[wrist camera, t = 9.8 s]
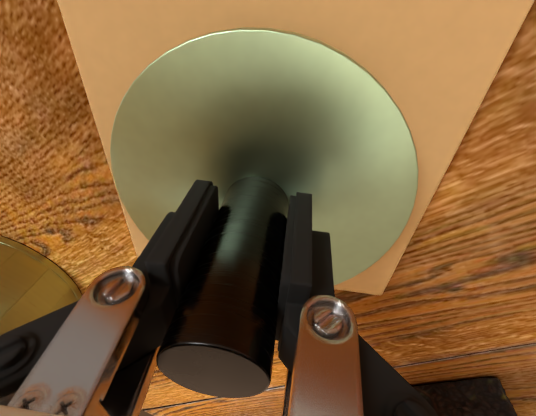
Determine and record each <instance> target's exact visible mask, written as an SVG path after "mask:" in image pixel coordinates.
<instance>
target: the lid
mask: <svg viewBox="0 0 536 416" xmlns="http://www.w3.org/2000/svg"><path fill="white" fill-rule="evenodd" d="M110 156H111V166H112V172H113V176H114V181H115V185H116V188H117V190H118V193H119V195H120V198H121V201H122V203H123V204H124V206H125V208H126V210H127V212H128V214H129V216H130V217H131V219H132V220H133V221H134V223H135V224H136V226H137V227H138V229H139V230H140V231H141V232H142V233H143V235H144V236H145V237H146V238H147V239H148V240H150V239H151V237H152V236H153V234H154V233H155V231H156V230H157V228H158V227H159V225H160V224H161V222H162V221H163V219H164V218H165V216H166V215H167V214H168V213H169V212H176V210H177V209H178V207H179V206H180V204H181V203H182V201H183V199H184V198H185V196H186V195H187V193H188V191H189V190H190V188H191V187H192V185H193V183H194V182H195V181H196V180H205V181H212V182H213V186H217V187H218V199H219V211H218V214H217V216H216V218H215V221H214V223H213V225H212V228H211V230H210V232H209V235H208V237H207V239H206V241H205V244H204V246H203V248H202V251H201V253H200V255H199V258H198V260H197V262H196V265H195V267H194V269H193V272H192V274H191V276H190V279H189V281H188V283H187V286H186V288H185V290H184V293H183V295H182V297H181V299H180V302H179V304H178V306H177V309H176V311H175V313H174V316H173V318H172V320H171V323H170V325H169V327H168V330H167V332H166V334H165V337H164V339H163V341H162V344H161V346H160V348H159V351H158V353H157V356H156V363H157V366H158V368H159V369H160V370H161V372H162V373H163V374H164V375H165V376H167V377H168V378H169V379H171V380H172V381H174V382H175V383H177V384H179V385H181V386H183V387H185V388H188V389H190V390H193V391H196V392H199V393H203V394H207V395H211V396H217V397H225V398H243V397H250V396H254V395H258V394H260V393H262V392H264V391H265V390H266V389H267V388H268V386H269V385H270V382H271V374H272V364H273V355H274V345H275V336H276V326H277V317H278V312H277V304H278V295H279V286H280V277H281V268H282V259H283V250H284V241H285V232H286V224H287V215H288V208H289V201H290V195H293V196H296V193H297V192H301V193H309V194H312V230H313V231H320V232H328V233H329V234H330V241H331V255H332V268H333V281H334V285H337V284H340V283H342V282H344V281H346V280H348V279H351V278H353V277H354V276H356V275H358V274H360V273H361V272H363V271H365V270H366V269H367V268H369V267H370V266H371V265H373V264H374V263H375V262H377V261H378V260H379V259H380V258H381V257H382V256H383V255H384V254H385V253H386V252H387V251H388V250H389V249H390V248H391V247H392V245H393V244H394V243H395V242H396V240H397V239H398V238H399V236H400V235H401V233H402V231H403V229H404V228H405V226H406V224H407V222H408V220H409V217H410V215H411V212H412V210H413V207H414V203H415V198H416V193H417V189H418V162H417V153H416V148H415V145H414V141H413V138H412V135H411V131H410V129H409V127H408V125H407V123H406V120H405V118H404V116H403V114H402V112H401V110H400V109H399V107H398V106H397V104H396V103H395V102H394V100H393V99H392V97H391V96H390V95H389V93H388V92H387V90H386V89H385V88H384V87H383V85H382V84H381V83H380V82H379V81H378V80H377V79H376V78H375V77H374V76H373V75H372V74H371V73H370V72H369V71H368V70H367V69H366V68H365V67H363V66H362V65H360V64H359V63H358V62H356V61H355V60H354V59H352V58H351V57H349V56H348V55H347V54H345V53H344V52H342V51H340V50H338V49H336V48H334V47H332V46H330V45H328V44H326V43H324V42H322V41H320V40H317V39H314V38H311V37H308V36H305V35H302V34H299V33H296V32H291V31H285V30H280V29H274V28H256V27H241V28H234V29H227V30H221V31H216V32H212V33H209V34H206V35H203V36H200V37H197V38H193V39H191V40H188V41H186V42H184V43H182V44H180V45H178V46H176V47H174V48H172V49H170V50H169V51H167V52H165V53H164V54H163V55H161V56H160V57H159V58H157V59H156V60H155V61H153V62H152V63H151V64H149V65H148V66H147V67H146V68H145V69H144V70H143V72H142V73H141V74H140V75H139V76H138V77H137V78H136V79H135V80H134V81H133V83H132V85H131V86H130V88H129V89H128V91H127V92H126V94H125V95H124V97H123V99H122V101H121V104H120V106H119V108H118V111H117V113H116V116H115V120H114V124H113V129H112V133H111V146H110Z"/></svg>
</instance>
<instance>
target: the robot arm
mask: <svg viewBox="0 0 536 416" xmlns="http://www.w3.org/2000/svg"><path fill="white" fill-rule="evenodd" d="M218 211H219V199H218V187H217V186H213V182H212V181H205V180H196V181H195V182H194V183H193V185H192V187H191V188H190V190H189V191H188V193H187V195H186V196H185V198H184V199H183V201H182V203H181V204H180V206H179V207H178V209H177V210H176V212H169V213H168V214H167V215H166V216H165V218H164V219H163V221H162V222H161V224H160V225H159V227H158V228H157V230H156V231H155V233H154V234H153V236H152V237H151V239H150V240H149V242H148V244H147V245H146V247H145V248H144V250H143V251H142V253H141V254H140V256H139V257H138V259H137V260H136V262H135V263H134V265H133V266H132V267H130V266H120V267H116V268H112V269H110V270H108V271H105V272H103V273H102V274H100V275H99V276H98V277H96V278H95V279H94V280H93V282H92V283H91V284H90V285H89V286H88V288H87V289H86V291H85V292H84V294H83V295H82V297H81V298H80V300H78V301H76V302H74V303H72V304H69V305H67V306H65V307H63V308H60V309H58V310H56V311H54V312H51V313H49V314H47V315H44V316H42V317H40V318H38V319H35V320H33V321H31V322H29V323H26V324H24V325H22V326H20V327H17V328H15V329H13V330H11V331H8V332H6V333H4V334H2V335H1V336H0V416H139V414H140V411H141V408H142V405H143V403H144V400H145V397H146V394H147V391H148V389H149V386H150V383H151V380H152V377H153V374H154V372H155V369H156V366H157V363H156V356H157V353H158V351H159V348H160V346H161V344H162V341H163V339H164V337H165V334H166V332H167V330H168V327H169V325H170V323H171V320H172V318H173V316H174V313H175V311H176V309H177V306H178V304H179V302H180V299H181V297H182V295H183V293H184V290H185V288H186V286H187V283H188V281H189V279H190V276H191V274H192V272H193V269H194V267H195V265H196V262H197V260H198V258H199V255H200V253H201V251H202V248H203V246H204V244H205V241H206V239H207V237H208V235H209V232H210V230H211V228H212V225H213V223H214V221H215V218H216V216H217V214H218ZM277 312H278V317H277V326H276V336H275V340H279V342H278V351H279V355H278V357H279V358H280V360H281V361H282V362H283V364H284V365H285V366H286V368H287V374H286V382H285V390H284V398H283V405H282V413H281V416H438V415H437V413H436V411H435V410H434V409H433V408H432V406H431V405H430V404H429V403H428V402H427V401H426V400H425V399H424V398H423V397H422V396H421V395H420V394H419V393H418V392H417V391H416V390H415V389H414V388H413V387H412V386H411V385H410V384H409V383H408V382H407V381H406V380H405V379H404V378H403V377H402V376H401V375H400V374H399V373H398V372H397V371H396V370H395V369H394V368H392V367H391V366H390V365H389V364H388V363H387V362H386V361H385V360H384V359H383V358H382V357H381V356H380V355H379V354H378V353H377V352H376V351H375V350H374V349H373V348H372V347H371V346H370V345H369V344H368V343H367V342H366V341H365V340H364V339H363V338H362V337H361V336H360V335H359V334H358V327H357V321H356V317H355V315H354V313H353V311H352V310H351V308H350V307H349V306H348V305H347V304H346V303H345V302H343V301H341V300H340V299H338V298H336V297H335V294H334V281H333V268H332V255H331V241H330V234H329V233H328V232H320V231H313V230H312V194H309V193H301V192H297V193H296V196H293V195H290V201H289V208H288V215H287V224H286V232H285V241H284V250H283V259H282V268H281V277H280V286H279V295H278V304H277Z"/></svg>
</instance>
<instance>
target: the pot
mask: <svg viewBox="0 0 536 416" xmlns="http://www.w3.org/2000/svg"><path fill="white" fill-rule="evenodd" d="M81 297H82V295H81V293H80V290H79V289H78V287H77V286H76V284H75V283H74V282H73V281H72V279H71V278H70V277H69V276H68V275H67V274H66V273H65V272H64V271H63V270H61V269H60V268H59V267H58V266H57V265H55V264H54V263H53V262H51V261H50V260H48V259H47V258H45V257H44V256H42V255H41V254H39V253H37V252H36V251H34V250H32V249H30V248H28V247H26V246H24V245H22V244H20V243H18V242H15V241H13V240H11V239H8V238H5V237H2V236H0V336H1V335H2V334H4V333H6V332H8V331H11V330H13V329H15V328H17V327H20V326H22V325H24V324H26V323H29V322H31V321H33V320H35V319H38V318H40V317H42V316H44V315H47V314H49V313H51V312H54V311H56V310H58V309H60V308H63V307H65V306H67V305H69V304H72V303H74V302H76V301H78V300H80V298H81Z"/></svg>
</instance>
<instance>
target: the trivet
mask: <svg viewBox="0 0 536 416" xmlns="http://www.w3.org/2000/svg"><path fill="white" fill-rule="evenodd" d="M57 1H58V5H59V8H60V11H61V14H62V17H63V21H64V24H65V27H66V30H67V33H68V37H69V40H70V43H71V46H72V49H73V53H74V56H75V59H76V62H77V65H78V69H79V72H80V75H81V78H82V81H83V85H84V88H85V91H86V94H87V97H88V101H89V104H90V107H91V110H92V113H93V117H94V120H95V123H96V126H97V130H98V133H99V136H100V139H101V142H102V146H103V149H104V152H105V155H106V158H107V162H108V165H109V168H110V171H111V174H112V178H113V181H114V176H113V172H112V166H111V156H110V146H111V133H112V129H113V124H114V120H115V116H116V113H117V111H118V108H119V106H120V104H121V101H122V99H123V97H124V95H125V94H126V92H127V91H128V89H129V88H130V86H131V85H132V83H133V81H134V80H135V79H136V78H137V77H138V76H139V75H140V74H141V73H142V72H143V70H144V69H145V68H146V67H147V66H148V65H149V64H151V63H152V62H153V61H155V60H156V59H157V58H159V57H160V56H161V55H163V54H164V53H165V52H167V51H169V50H170V49H172V48H174V47H176V46H178V45H180V44H182V43H184V42H186V41H188V40H191V39H193V38H197V37H200V36H203V35H206V34H209V33H212V32H216V31H221V30H227V29H234V28H241V27H256V28H274V29H280V30H285V31H291V32H296V33H299V34H302V35H305V36H308V37H311V38H314V39H317V40H320V41H322V42H324V43H326V44H328V45H330V46H332V47H334V48H336V49H338V50H340V51H342V52H344V53H345V54H347V55H348V56H349V57H351V58H352V59H354V60H355V61H356V62H358V63H359V64H360V65H362V66H363V67H365V68H366V69H367V70H368V71H369V72H370V73H371V74H372V75H373V76H374V77H375V78H376V79H377V80H378V81H379V82H380V83H381V84H382V85H383V87H384V88H385V89H386V90H387V92H388V93H389V95H390V96H391V97H392V99H393V100H394V102H395V103H396V104H397V106H398V107H399V109H400V110H401V112H402V114H403V116H404V118H405V120H406V123H407V125H408V127H409V129H410V131H411V135H412V138H413V141H414V145H415V148H416V153H417V162H418V189H417V193H416V198H415V203H414V207H413V210H412V212H411V215H410V217H409V220H408V222H407V224H406V226H405V228H404V229H403V231H402V233H401V235H400V236H399V238H398V239H397V240H396V242H395V243H394V244H393V245H392V247H391V248H390V249H389V250H388V251H387V252H386V253H385V254H384V255H383V256H382V257H381V258H380V259H379V260H378V261H377V262H375V263H374V264H373V265H371V266H370V267H369V268H367V269H366V270H365V271H363V272H361V273H360V274H358V275H356V276H354V277H353V278H351V279H348V280H346V281H344V282H342V283H340V284H337V285H334V289H338V290H345V291H352V292H359V293H366V294H373V295H380V296H381V295H382V294H383V292H384V290H385V288H386V286H387V284H388V282H389V280H390V278H391V276H392V274H393V272H394V270H395V269H396V267H397V265H398V263H399V261H400V259H401V257H402V255H403V253H404V251H405V249H406V247H407V245H408V244H409V242H410V240H411V238H412V236H413V234H414V232H415V230H416V228H417V226H418V224H419V222H420V220H421V218H422V217H423V215H424V213H425V211H426V209H427V207H428V205H429V203H430V201H431V199H432V197H433V195H434V193H435V191H436V190H437V188H438V186H439V184H440V182H441V180H442V178H443V176H444V174H445V172H446V170H447V168H448V166H449V164H450V163H451V161H452V159H453V157H454V155H455V153H456V151H457V149H458V147H459V145H460V143H461V141H462V139H463V137H464V136H465V134H466V132H467V130H468V128H469V126H470V124H471V122H472V120H473V118H474V116H475V114H476V112H477V111H478V109H479V107H480V105H481V103H482V101H483V99H484V97H485V95H486V93H487V91H488V89H489V87H490V85H491V84H492V82H493V80H494V78H495V76H496V74H497V72H498V70H499V68H500V66H501V64H502V62H503V60H504V58H505V57H506V55H507V53H508V51H509V49H510V47H511V45H512V43H513V41H514V39H515V37H516V35H517V33H518V31H519V30H520V28H521V26H522V24H523V22H524V20H525V18H526V16H527V14H528V12H529V10H530V8H531V6H532V5H533V3H534V1H535V0H57ZM114 184H115V181H114ZM115 187H116V185H115ZM116 190H117V188H116ZM117 194H118V197H119V200H120V203H121V206H122V210H123V213H124V216H125V219H126V222H127V226H128V229H129V232H130V235H131V238H132V242H133V245H134V248H135V251H136V254H137V258H138V257H139V256H140V254H141V253H142V251H143V250H144V248H145V247H146V245H147V244H148V242H149V240H148V239H147V238H146V237H145V236H144V235H143V233H142V232H141V231H140V230H139V229H138V227H137V226H136V224H135V223H134V221H133V220H132V219H131V217H130V216H129V214H128V212H127V210H126V208H125V206H124V204H123V203H122V201H121V198H120V195H119V193H118V190H117Z"/></svg>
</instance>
